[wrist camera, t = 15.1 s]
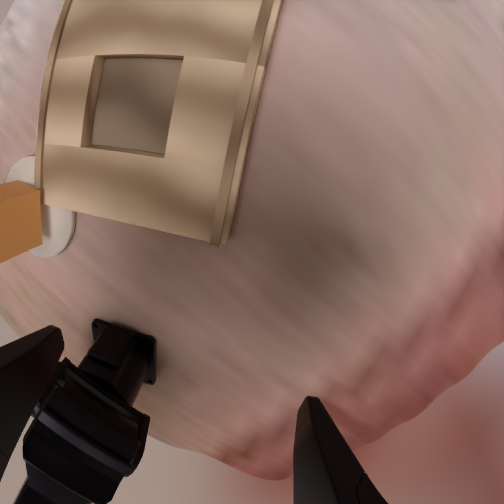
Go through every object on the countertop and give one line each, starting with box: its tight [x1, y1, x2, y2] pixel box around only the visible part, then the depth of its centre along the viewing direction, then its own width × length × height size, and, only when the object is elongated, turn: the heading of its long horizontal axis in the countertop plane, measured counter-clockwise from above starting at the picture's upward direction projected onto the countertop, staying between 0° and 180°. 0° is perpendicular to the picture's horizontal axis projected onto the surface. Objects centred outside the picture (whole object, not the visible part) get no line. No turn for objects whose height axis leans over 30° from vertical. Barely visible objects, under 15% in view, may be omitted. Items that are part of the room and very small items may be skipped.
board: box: [34, 0, 283, 246], centre depth 14 cm, size 27×16×2 cm, turn 168°
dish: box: [5, 155, 76, 258], centre depth 20 cm, size 9×9×1 cm
